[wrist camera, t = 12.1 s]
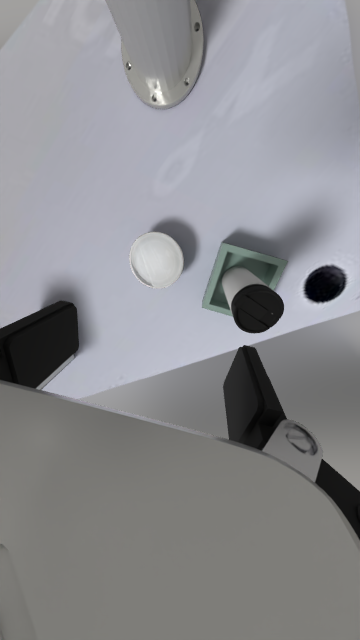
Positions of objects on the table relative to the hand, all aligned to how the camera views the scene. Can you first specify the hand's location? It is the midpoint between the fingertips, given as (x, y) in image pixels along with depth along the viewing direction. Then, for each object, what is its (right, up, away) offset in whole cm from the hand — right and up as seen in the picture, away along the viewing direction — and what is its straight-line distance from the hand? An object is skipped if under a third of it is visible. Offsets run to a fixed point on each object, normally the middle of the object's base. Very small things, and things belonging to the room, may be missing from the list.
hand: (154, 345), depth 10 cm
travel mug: (+14, +10, +30) cm, 35 cm away
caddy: (+14, +10, +31) cm, 36 cm away
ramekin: (-3, +15, +31) cm, 35 cm away
